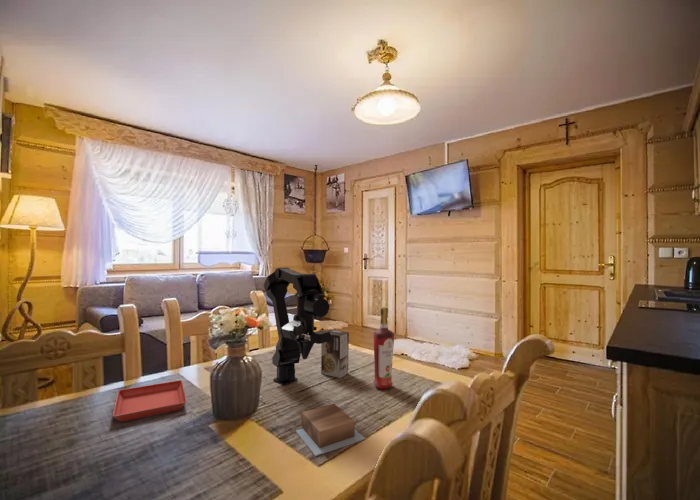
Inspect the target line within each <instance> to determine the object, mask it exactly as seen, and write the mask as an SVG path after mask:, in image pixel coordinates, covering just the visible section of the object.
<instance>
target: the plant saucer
mask: <svg viewBox="0 0 700 500" xmlns="http://www.w3.org/2000/svg"><path fill="white" fill-rule="evenodd" d="M115 399H116V400H115V404H114V407H113V412H112V417H113V418H114V419H115V420H117V421H119V422H121V423H122V422H128V421H133V420H137V419H143V418H146V417H147V418H148V417H151V416H156V415H161V414H166V413H170V412H175V411H179V410H181V409H182V408H183V407H184V406H185V404H186V403H187V402H188V401H187V396H186V391H185V388H184V382H183V380H181V379H180V380H174V381H168V382H160V383H156V384H150V385H149V384H148V385H144V386H143V385H142V386H137V387H132V388H131V387H130V388H125V389H124V388H123V389H120V390H117V394H116V398H115Z"/></svg>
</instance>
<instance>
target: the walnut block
mask: <svg viewBox="0 0 700 500" xmlns="http://www.w3.org/2000/svg"><path fill="white" fill-rule="evenodd" d="M355 424H356V422H355V420H354V419H353V418H352V417H350V416H349V414H347V413H346V412H345V411H343V410H342V409H341V408H340V407H339V406H338V405H336V404H335V403H333V404H332V403H331V404H328V405H324V406H321V407H317V408H313V409H312V408H311V409H309V410H306V411H305V410H304V411H302V412H301V429H304V431H305V432H306V433H307V434H308V435H309V437H310V438H311V439H312V440H313V441H314V442H315V444H316V445H317V446H318V447H319V448H322V447H325V446H328V445H331V444H334V443H337V442H340V441H343V440H346V439H349V438H352V437H355V430H356V429H355V427H356V425H355Z"/></svg>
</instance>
